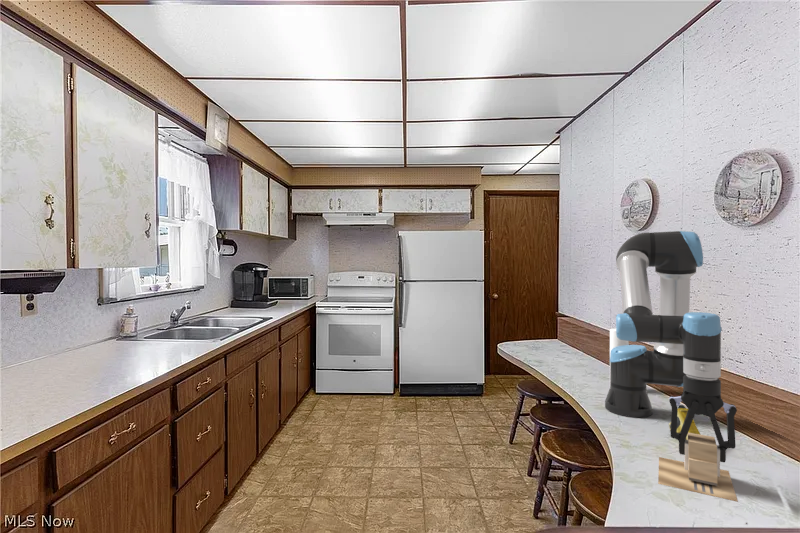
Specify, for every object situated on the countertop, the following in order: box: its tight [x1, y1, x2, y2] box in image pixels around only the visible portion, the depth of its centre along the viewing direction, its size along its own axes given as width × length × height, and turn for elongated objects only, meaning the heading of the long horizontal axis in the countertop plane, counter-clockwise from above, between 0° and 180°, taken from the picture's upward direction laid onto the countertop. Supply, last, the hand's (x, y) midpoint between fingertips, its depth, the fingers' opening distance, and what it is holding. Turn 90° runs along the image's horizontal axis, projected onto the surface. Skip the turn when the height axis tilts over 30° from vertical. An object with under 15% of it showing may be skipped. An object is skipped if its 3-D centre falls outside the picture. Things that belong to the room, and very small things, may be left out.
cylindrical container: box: [609, 328, 630, 354], centre depth 181 cm, size 7×7×25 cm
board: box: [657, 456, 739, 503], centre depth 105 cm, size 16×15×2 cm
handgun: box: [668, 404, 702, 440], centre depth 124 cm, size 2×19×12 cm
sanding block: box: [688, 433, 718, 486], centre depth 105 cm, size 8×6×9 cm
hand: (701, 470), depth 105 cm, fingers closed on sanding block, 5 cm apart
